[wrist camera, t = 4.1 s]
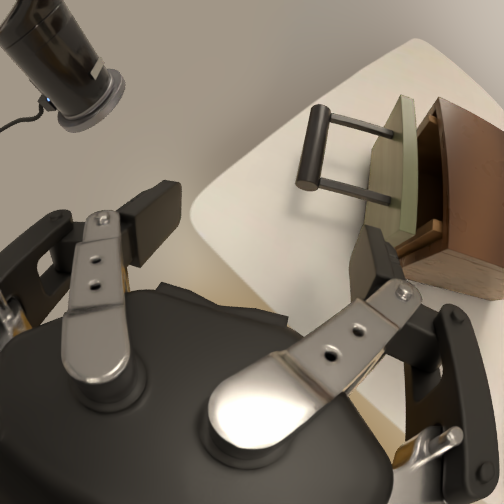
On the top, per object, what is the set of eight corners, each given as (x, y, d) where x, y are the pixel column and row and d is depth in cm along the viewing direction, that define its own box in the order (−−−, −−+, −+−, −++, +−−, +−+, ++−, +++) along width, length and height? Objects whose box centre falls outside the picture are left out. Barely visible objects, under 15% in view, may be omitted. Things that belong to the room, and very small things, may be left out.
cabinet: (385, 273, 24) (448, 248, 14) (396, 157, 27) (438, 96, 16) (491, 300, 23) (559, 290, 12) (492, 197, 25) (545, 161, 14)
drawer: (284, 239, 25) (289, 201, 16) (307, 133, 27) (317, 70, 18) (471, 287, 22) (530, 275, 14) (473, 187, 24) (518, 153, 16)
